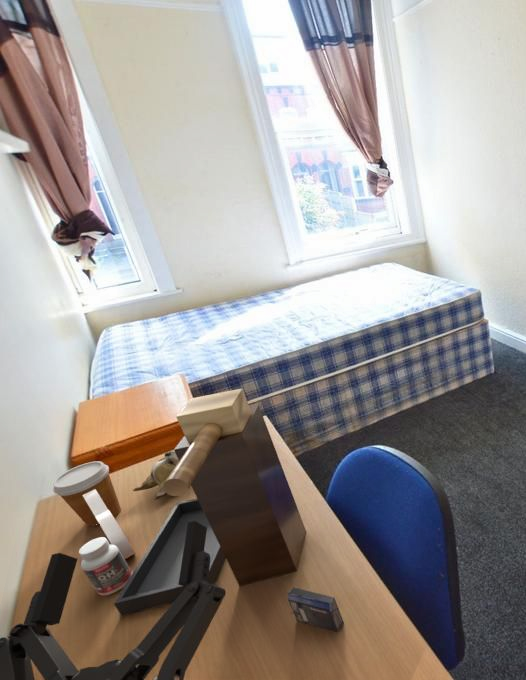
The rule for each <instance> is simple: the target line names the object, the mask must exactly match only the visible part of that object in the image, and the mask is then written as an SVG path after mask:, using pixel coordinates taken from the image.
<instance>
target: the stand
mask: <svg viewBox="0 0 526 680" xmlns="http://www.w3.org/2000/svg"><path fill="white" fill-rule="evenodd" d="M249 407H250V409H251V412H252V414H251V416H250V418H249V420H248V422H247V424H246V426H245V427H244V429H243V431H242V432H239V433H235V434H230V435H225V436H221V437H219V439H218V440H217V442H216V444H215V445H214V447H213V449H212V450H211V452H210V454H209V455H208V457H207V459H206V460H205V462H204V464H203V465H202V467H201V468H200V470H199V472H198V473H197V475H196V477H195V478H194V480H193V482H192V483H191V485H190V487H191V490H193V493H194V495H195V498H197V499H198V501H199V503H200V505H201V507H202V509H203V512H204V514H205V516H206V518H207V520H208V522H209V524H210V526H211V528H212V530H213V532H214V534H215V536H216V539H217V541H218V543H219V545H220V547H221V549H222V551H223V553H224V555H225V557H226V559H225V560H226V561H227V563H228V565H229V568H230V570H231V572H232V574H233V576H234V578H235V580H236V582H237V584H238V586H239V587H240V586H245V585H248V584H252V583H257V582H261V581H264V580H267V579H272V578H275V577H280V576H283V575H287V574H291V573H294V572H298V568H299V564H300V560H301V556H302V551H303V547H304V543H305V539H306V534H307V530H306V527H305V524H304V521H303V518H302V517H301V513H300V510H299V508H298V506H297V503H296V501H295V498H294V494H293V493H292V490H291V489H292V488H291V487H290V484H289V481H288V479H287V476H286V474H285V471H284V469H283V466H282V463H281V460H280V458H279V455H278V452H277V450H276V447H275V445H274V442H273V439H272V437H271V434H270V432H269V428H268V426H267V423H266V420H265V419H264V415H263V413H262V409H261V408H260V405H259V404H256V405H251V406H249ZM191 444H192V443H188V441H187V439H186V437H185V435H184V436H183V437H182V438H181V439H180V440H179V442H178V444H176V446H175V448H174V449H173V451H175V453H176V455H177V457H178V460H179V461H180V460H181V458H182V457H183V455H184V454H185V452H186V451H187V449H188V448H189V447H190V445H191Z"/></svg>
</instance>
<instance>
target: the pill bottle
mask: <svg viewBox="0 0 526 680" xmlns="http://www.w3.org/2000/svg"><path fill="white" fill-rule="evenodd" d="M78 555H79V556H80V558H81V559H82V560H81V563H80V568H81V569H82V571H83V572H84V575H85V576H86V577H87V579H88V580H89V582H90V583H91V585H92V586H93V588H94V590H95V591H96V592H97V594H98V595H100V596H109V595H111V594H115V593H116V592H118V591H120V590H123V588H124V586H125V585H126V583H127V582H128V580H129V578H130V577H131V575H132V574H133V571H132V569H131V567H130V566H129V564H128V563H127V561H126V559H124V558H123V556H122V554H121V552H120V551H119V549H118V548H117V546H115V545H112V544H111V543H110V541H109V539H108V538H107V537H104V536H99V537H96V538H93V539H91V540H89V541H88V542H86V543H84V544H83V545H82V546H81V547H80V548H79V550H78Z"/></svg>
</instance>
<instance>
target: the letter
mask: <svg viewBox="0 0 526 680" xmlns="http://www.w3.org/2000/svg"><path fill="white" fill-rule="evenodd" d="M82 496H83V497H84V499H85V501H86V502H87V504H88V506H89V507H90V509H91V511H92V512H93V514H94V516H95V517H96V519H97V521H98V522H99V524H100V525H99V526H100V528H101V529H102V531H103V532H104V535H105V536H106V538H107V540H108V542H109V543H110V544H112V545H115V546H117V548H118V549H119V551H120V552H121V554H122V556H123V558H124V559H125V560H127V559H128V558H130V557H132V556H133V555H135V554H136V552H135V551H134V549H133V547H132V546H131V543H130V542H129V540H128V538H127V537H126V535H125V533H124V531H123V529H121V526H120V525H119V523H118V522H117V520H116V519H115V517H113V515H112V514H111V512H110V511H109V510H108V509H107V507H106V505H105V504H104V502H103V500H102V499H101V497H100V496H99V494H98V492H97V491H96V489H94V490H92V491H90V492H88V493H86V494H84V495H82Z"/></svg>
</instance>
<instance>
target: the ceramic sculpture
mask: <svg viewBox="0 0 526 680" xmlns="http://www.w3.org/2000/svg"><path fill="white" fill-rule="evenodd" d="M178 462H179V460H178V457H177V455H176V453H175V451H174V450H170V451H168V452H165V453H164V457H163V458H160V459H159V460H158V461H157V462H155V463H154V464H153V465H152V468H151V469H150V475H148V476H147V477H146V479H145V480H144V481H143V482H142V483H141V485H139V486H137V487H134V488H133V489H132V491H133V492H140V491H145V490H146V491H147V490H150V489H153V488H155V487H158V488H157V492H156V495H155V497H154V500H159V499H162V498H164V497H166V496H170V495H169V494H167V493H166V492H165V491H164V489H163V485H164V483H165V481H166V480H167V478H168V477H169V476H170V474H171V473H172V471H173V470H174V468H175V467H176V465H177V464H178Z"/></svg>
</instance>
